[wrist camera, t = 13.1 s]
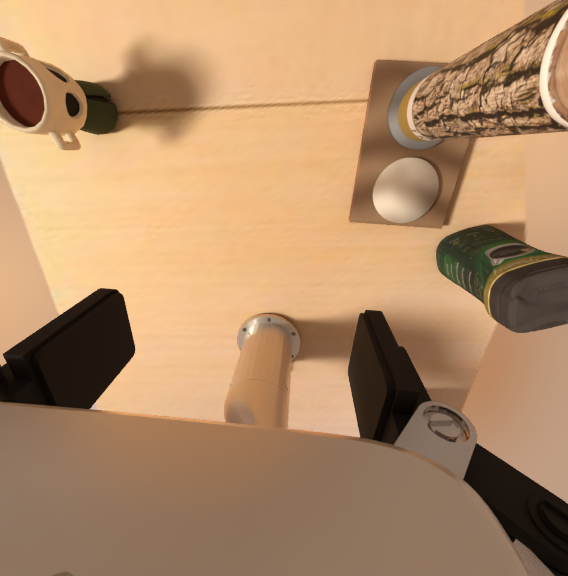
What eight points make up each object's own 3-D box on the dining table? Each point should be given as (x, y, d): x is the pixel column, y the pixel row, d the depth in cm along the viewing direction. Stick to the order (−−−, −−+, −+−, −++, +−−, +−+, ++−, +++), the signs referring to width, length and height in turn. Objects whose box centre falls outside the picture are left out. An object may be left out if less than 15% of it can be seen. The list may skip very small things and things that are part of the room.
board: (437, 226, 44) (444, 229, 42) (348, 219, 44) (351, 223, 42) (485, 69, 35) (497, 64, 33) (374, 63, 36) (378, 57, 34)
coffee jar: (436, 279, 48) (506, 347, 31) (431, 237, 45) (506, 288, 28) (498, 263, 46) (607, 327, 30) (497, 218, 43) (619, 261, 26)
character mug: (139, 141, 41) (74, 138, 30) (100, 158, 43) (24, 161, 31) (95, 54, 37) (0, 10, 25) (53, 76, 38) (-55, 43, 27)
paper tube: (395, 86, 35) (565, -30, 12) (453, 72, 34) (751, -80, 11) (396, 146, 38) (534, 141, 15) (449, 135, 37) (680, 113, 14)
